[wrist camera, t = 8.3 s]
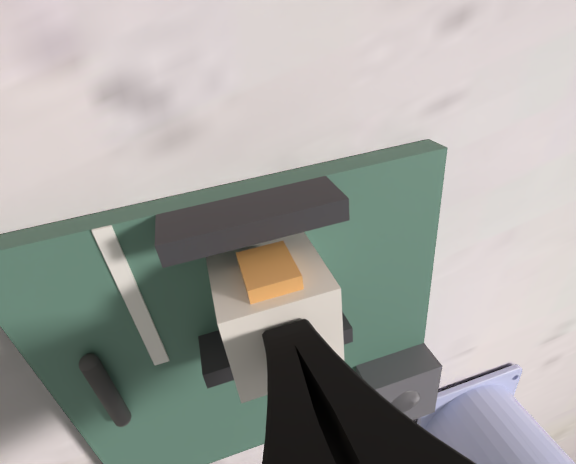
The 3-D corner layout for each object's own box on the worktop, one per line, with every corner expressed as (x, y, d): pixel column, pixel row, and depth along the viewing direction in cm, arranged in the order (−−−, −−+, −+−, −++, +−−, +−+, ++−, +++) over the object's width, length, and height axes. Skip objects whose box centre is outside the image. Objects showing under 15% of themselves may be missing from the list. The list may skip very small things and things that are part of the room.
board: (407, 372, 23) (438, 418, 20) (127, 469, 20) (121, 539, 17) (428, 139, 15) (485, 164, 12) (-31, 241, 12) (-85, 304, 9)
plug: (306, 295, 16) (344, 369, 13) (224, 319, 15) (241, 403, 12) (297, 212, 14) (340, 274, 10) (200, 235, 13) (213, 310, 10)
